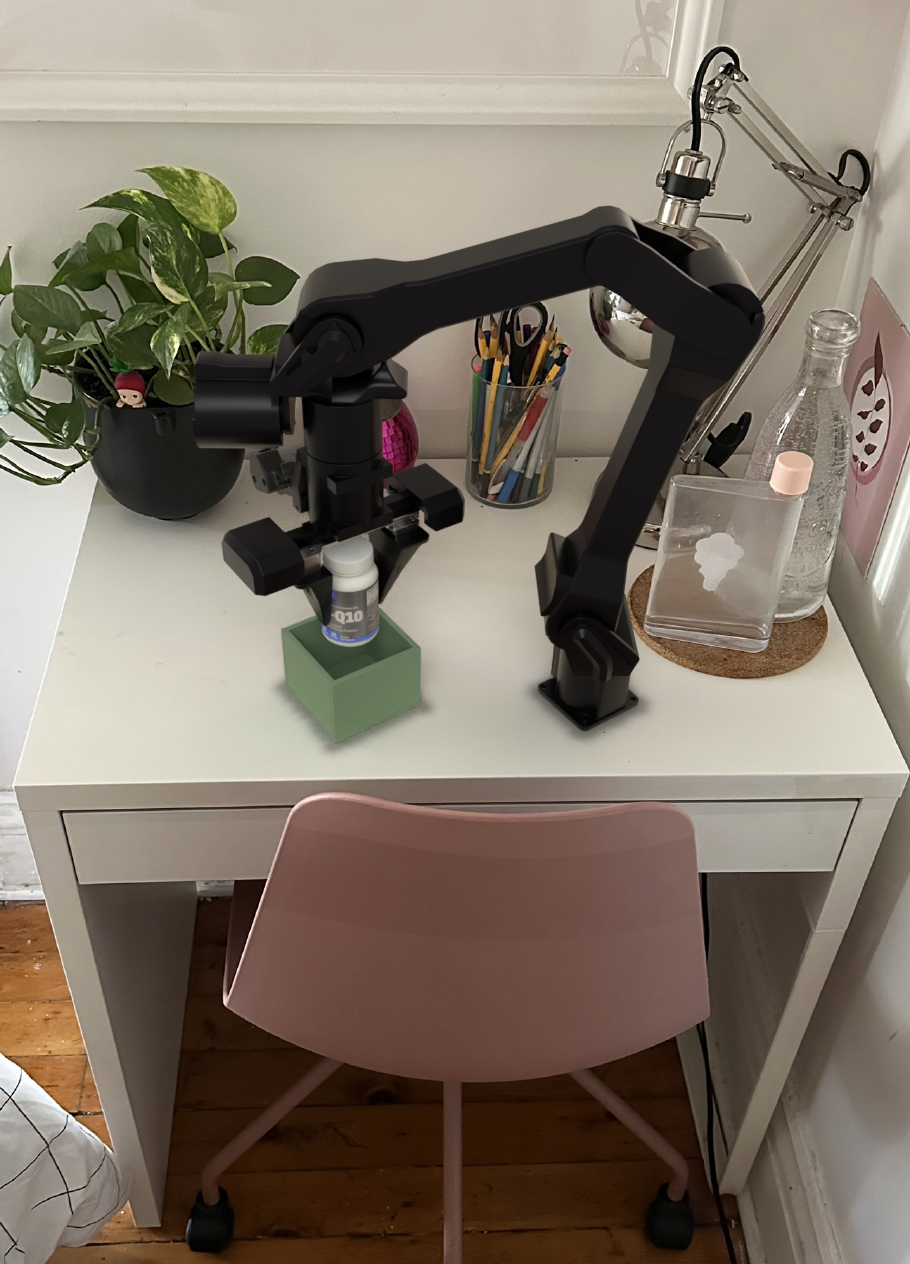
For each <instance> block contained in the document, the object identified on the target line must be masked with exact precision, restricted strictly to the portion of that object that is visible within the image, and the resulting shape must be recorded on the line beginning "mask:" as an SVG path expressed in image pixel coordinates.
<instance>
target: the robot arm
mask: <svg viewBox="0 0 910 1264" xmlns="http://www.w3.org/2000/svg"><path fill="white" fill-rule="evenodd" d="M596 287H603V288H605V289H606V290H608V291H610V292H612V293H613V294H615V295H617V296H618V297H620V298H621V299H622V300H624V301H625V302H626V303H628V304H629V305H630V306H631V307H633V308H634V309H635V310H636V311H638V312H639V313H640V314H642V315H643V316H645V318H647V319H648V320H649V321H651V323H653V325H652V333H651V341H650V342H651V343H650V352H649V360H648V366H647V370H646V374H645V376H644V378H643V381H642V383H641V386H640V388H639V389H638V392H637V395H636V397H635V399H634V402H633V404H632V405H631V408H630V411H629V413H628V415H627V417H626V420H625V422H624V423H623V427H622V429H621V431H620V433H619V436H618V439H616V440H617V441H616V443H615V445H614V447H613V450H612V451H611V455H610V457H609V459H608V461H607V463H606V466H605V468H604V471H603V473H602V475H601V477H600V480H599V482H598V484H597V487H596V488H595V492H594V494H593V495H592V498H591V500H590V502H589V505H588V507H587V510H586V512H585V515H584V517H583V519H582V521H581V523H580V524H579V526H578V527H577V528H576V529H574V530H573V531H572V532H570V534H568V535H567V536H563V535H561V534H558V533H556V532H553V531H551V532H550V533H549V535H548V537H547V543H546V548H545V551H544V553H543V555H542V557H541V558H540V560H538V562H537V563H536V564H535V565H534V574H535V582H536V583H535V584H536V589H537V590H536V591H537V598H538V606H539V607H538V608H539V612H540V613H539V615H540V616H541V617H543V625H544V632H545V633H544V634H545V636H546V637H547V639H548V640H549V641H550V643H551V644H552V645H553V649H552V650H553V651H552V658H551V669H550V676H552V677H551V678H549V679H547V680H544V681H542V682H541V683H539V684H538V685H537V691H538V693H540V695H542V696H543V697H544V698H545V699H546V700H547V701H548V702H549V703H551V704H552V705H553V706H554V707H555V708H556V709H557V710H558V711H559V712H560V713H561V714H562V715H563V716H565V717H566V718H567V719H568V721H570V722H571V723H573V725H575V726H576V727H577V728H578V729H579V730H581V731H582V732H586V731H589V730H591V729H593V728H596V727H598V726H599V725H601V724H603V723H605V722H607V721H609V720H611V719H613V718H614V717H617V716H618V715H621V714H623V713H625V712H627V711H629V710H630V709H633V708H634V707H636V706H638V705H639V701H640V698H639V697H638V695H636V694H635V693H634V692H633V691H631V690H630V689H629V687H630V681H631V675H632V673H633V671H634V669H635V668H636V666H637V665H638V663H639V662H640V660H641V659H640V655H639V650H638V645H637V641H636V635H635V632H634V626H633V623H632V622H633V621H632V617H631V613H630V607H629V603H628V600H627V595H626V593H625V591H626V583H627V574H628V564H629V560H630V557H631V555H632V553H633V551H634V549H635V546H636V544H637V543H638V540H639V538H640V536H641V534H642V532H643V529H644V528H645V525H646V523H647V521H648V519H649V517H650V515H651V513H652V510H653V509H654V507H655V505H656V503H657V501H658V498H659V496H660V494H661V492H662V490H663V488H664V486H665V483H666V482H667V480H668V477H669V475H670V473H671V471H672V469H673V467H674V465H675V463H676V461H677V458H678V456H679V454H680V453H681V450H682V448H683V445H684V444H685V442H686V439H687V437H688V435H689V433H690V432H691V429H692V427H693V425H694V423H695V420H696V419H697V416H698V414H699V412H700V411H701V408H702V407H703V405H704V404H705V402H707V400H709V399H710V398H711V397H713V395H715V394H716V393H717V392H718V391H720V390H721V389H722V388H724V386H726V385H727V384H728V383H730V382H731V381H732V380H733V379H734V378H735V376H736V375H737V374H738V372H739V370H740V369H741V367H742V366H743V365H744V363H745V362H746V361H747V359H748V358H749V356H750V355H751V353H752V352H753V350H754V349H755V348H756V346H757V345H758V343H759V341H760V340H761V338H762V335H763V332H764V329H765V326H766V315H765V311H764V307H763V305H762V302H761V300H760V298H759V296H758V294H757V292H756V290H755V289H754V287H753V285H752V283H751V281H750V279H749V278H748V276H747V273H746V272H745V270H744V268H743V267H742V265H741V263H740V262H739V261H738V260H737V259H736V258H735V257H734V255H733V254H731V253H729V252H727V251H725V250H723V249H720V248H712V247H706V248H701V249H698V248H697V247H695V246H693V245H691V243H688V242H687V241H685V240H683V239H681V238H680V237H678V236H676V235H674V234H673V233H671V232H669V231H666V230H663V229H661V228H658V227H655V226H652V225H650V224H648V223H645V222H642V221H640V220H638V219H637V218H634V217H633V216H631V215H629V214H628V212H626V211H625V210H623V209H622V208H621V207H619V206H618V207H617V206H614V205H601V206H597V207H594V208H592V209H591V210H588V211H587V212H586V213H583V214H581V215H578V216H573V217H571V218H567V219H564V220H563V219H562V220H559V221H556V222H553V223H549V224H546V225H542V226H539V227H535V228H532V229H531V228H530V229H528V230H524V231H521V232H516V233H513V234H511V235H507V236H503V237H498V238H495V239H492V240H489V241H485V242H482V243H478V244H474V245H471V246H467V247H464V248H459V249H456V250H452V251H449V252H446V253H442V254H437V255H435V256H431V257H428V258H424V259H423V258H422V259H414V260H396V259H388V258H380V257H371V258H362V259H361V258H360V259H352V260H343V261H332V262H328V263H326V264H323V265H321V266H318V267H316V268H314V270H313V271H311V272H310V273H309V274H308V276H307V278H306V279H305V281H304V283H303V285H302V287H301V289H300V292H299V298H298V303H297V307H296V311H295V316H294V318H292V320H291V321H290V323H288V326H287V327H286V328H285V330H284V331H283V332H282V333H281V334H280V337H279V338H278V341H277V346H276V349H275V354H252V353H250V354H248V353H246V354H245V353H225V352H221V351H216V350H200V351H199V352H198V353H197V355H196V358H195V361H194V364H193V371H194V379H195V380H194V390H193V391H194V394H193V409H194V410H193V412H192V416H191V423H192V431H193V436H194V440H195V443H196V446H197V447H198V448H199V449H249V450H250V449H252V450H253V449H257V450H255V451H252V452H249V472H250V476H251V479H252V483H253V487H254V488H255V490H256V491H258V492H261V493H264V494H266V495H272V494H273V493H276V494H277V495H279V496H282V495H286V496H290V497H292V507H293V508H294V509H295V510H296V511H297V512H298V513H299V514H304V513H307V514H308V518H309V520H308V521H304V522H302V523H301V525H300V526H298V527H295V528H292V529H289V530H287V531H284V530H283V529H282V528H281V526H279V525H278V524H277V523H276V522H275V521H274V520H273V519H272V518H271V517H270V516H267V517H263V518H261V519H258V520H255V521H253V522H249V523H246V524H243V525H240V526H238V527H234V528H232V529H229V530H228V531H227V532H226V533H224V535H223V538H222V541H221V543H220V544H221V550H222V551H221V552H222V557H223V558H222V559H223V562H224V563H225V564H226V565H227V566H228V567H229V568H230V569H231V570H232V572H233V573H234V574H235V575H236V576H237V577H238V578H239V579H240V581H242V582H243V584H245V586H246V587H247V588H248V589H249V590H250V591H251V592H252V593H253V594H254V596H261V597H267V596H270V595H272V594H275V593H278V592H280V591H284V590H286V589H289V588H291V587H294V588H295V589H297V590H302V591H303V593H304V595H305V597H306V599H307V601H308V602H309V605H310V607H311V608H312V610H313V612H314V614H315V615H316V616H317V618H318V620H319V621H320V622H321V623H322V624H323V625H324V626H326V625H329V622H330V617H331V608H332V586H333V574H332V573H331V572H330V571H329V570H328V569H327V568H326V567H325V566H324V565H323V564H322V563H323V562H322V550H323V549H326V548H329V547H331V546H334V545H337V544H340V543H342V542H345V541H348V540H351V539H353V538H356V537H359V536H364V535H367V537H368V540H369V541H370V542H371V544H372V546H373V556H374V560H373V562H374V563H375V564H376V566H377V569H378V605H381V604H383V602H384V601H385V599H386V598H387V596H388V594H389V593H390V591H391V589H393V586H394V584H395V583H396V581H397V580H398V578H399V576H400V575H401V574H402V572H403V570H404V569H405V567H406V566H407V564H408V563H409V562H410V560H411V559H412V558H413V557H414V555H415V554H416V552H417V551H418V550H419V548H420V547H421V546H422V545H424V544H427V543H429V541H430V534H429V532H428V531H427V530H425V529H424V528H423V527H422V526H421V525H420V511H421V513H423V524H424V525H425V526H427V527H428V528H430V529H431V530H433V531H434V532H435V533H437V532H439V531H442V530H445V529H447V528H450V527H453V526H456V525H458V524H461V523H464V519H465V507H466V506H465V505H466V499H465V496H464V493H463V492H462V490H461V488H459V487H458V486H457V485H456V484H454V483H453V482H452V481H450V480H449V479H448V478H447V477H445V476H444V475H443V474H441V473H440V472H439V471H438V470H436V469H435V468H433V467H432V466H431V465H430V464H428V463H427V462H424V463H421V464H419V465H416V466H413V467H410V468H407V469H404V470H401V471H398V472H395V473H394V464H393V463H392V462H390V461H389V460H388V459H387V458H386V457H385V456H384V435H383V434H384V433H383V431H384V430H383V426H384V425H383V400H404V399H406V398H407V397H408V385H409V384H408V383H409V380H408V379H409V371H408V369H406V368H405V367H404V366H403V365H401V364H400V363H399V362H397V361H395V360H393V358H395V357H396V356H397V355H399V354H400V353H402V352H403V351H404V350H406V349H407V348H409V347H410V346H412V344H414V343H415V342H417V341H418V340H419V339H420V338H423V337H424V336H427V335H429V334H431V333H433V332H435V331H437V330H441V329H445V328H449V327H452V326H456V325H459V324H463V323H466V322H470V321H474V320H477V319H481V318H482V319H483V318H484V317H489V316H492V315H496V314H501V313H503V312H507V311H511V310H515V309H519V308H523V307H526V306H530V305H534V304H537V303H541V302H544V301H548V300H553V299H555V298H560V297H563V296H567V295H571V294H575V293H578V292H582V291H585V290H589V289H593V288H596ZM296 398H300V400H301V415H302V429H303V443H299V444H296V445H293V446H291V447H288V448H287V447H286V448H284V449H280V450H278V449H279V448H280V447H283V446H284V435H286V436H294V434H295V427H296ZM384 485H385V486H384ZM384 487H385V488H384Z"/></svg>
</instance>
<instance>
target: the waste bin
mask: <svg viewBox="0 0 910 1264" xmlns="http://www.w3.org/2000/svg"><path fill="white" fill-rule="evenodd" d="M378 610H379V628H378V632H377V634H376V636H375V637H374V638H373V639H372V640H371V641H369V642H368V643H366V644H363V645H360V646H355V647H346V646H340V645H337V644H334V643H332V642H330V641H329V640H328V639H327V638H326V637H325V636H324V634H323V632H322V625H321V622H320V621H319V620H318V618H317V616H316V614H315V615H313V616H311V617H308V618H305V619H303V620H300V621H298V622H295V623H292V624H290V625H287V626H285V627H282V628H281V629H280V634H281V646H282V647H281V648H282V657H283V658H282V659H283V668H284V670H283V671H284V681H285V687H286V688H287V689H288V690H289V692H290V693H291V694H292V696H293V697H294V698H295V699H296V700H297V701H298V702H299V703H300V704H301V706H302V707H303V708H304V709H305V710H306V711H307V713H308V714H309V715H310V716H311V717H312V718H313V720H314V721H315V722H316V723H317V724H318V726H319V727H320V728H321V729H322V730H323V731H324V732H325V734H326V735H328V737H329V738H330V740H332V742H333V743H334V744H338V743H340V742H342V741H344V740H347V739H349V738H351V737H353V736H356V735H358V734H360V733H362V732H365V731H366V730H369V729H371V728H373V727H375V726H378V725H379V724H382V723H384V722H386V721H388V720H390V719H392V718H395V717H397V716H400V715H402V714H404V713H406V712H408V711H410V710H412V709H415V708H417V707H419V706H421V680H422V679H421V675H422V672H421V671H422V648H421V646H420V645H419V644H418V643H416V641H414V639H412V637H410V636H409V635H408V633H406V631H404V630H403V629H402V628H401V626H399V625H398V624H397V622H395V621H394V620H393V619H392V618H391V617H390V616H389V615H388V614H387V613H386V612H385V611H384V610H383V609H382V608H381V607H380V606H378Z"/></svg>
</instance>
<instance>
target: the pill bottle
mask: <svg viewBox="0 0 910 1264" xmlns="http://www.w3.org/2000/svg"><path fill="white" fill-rule="evenodd" d="M373 560H374V556H373V546H372V544H371V542H370V541H369V538H366V537H364V536H363V535H361V536H359V537H356V538H353V539H351V540H348V541H345V542H342V543H340V544H337V545H334V546H331V547H329V548H326V549H323V550H322V554H321V563H322V564H323V565H324V566H325V567H326V568H327V569H328V570H329V571H330V572H331V573H332V574H333V586H332V608H331V617H330V622H329V625H326V626H324V625H323V624H322V623H321V625H322V632H323V634H324V636H325V637H326V638H327V639H328V640H329V641H330V642H332V643H334V644H337V645H340V646H346V647H355V646H360V645H363V644H366V643H368V642H369V641H371V640H372V639H373V638H374V637H375V636H376V634H377V632H378V628H379V610H378V607H380V606H379V605H380V604H379V605H378V569H377V566H376V564H375V563H374V562H373Z"/></svg>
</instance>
